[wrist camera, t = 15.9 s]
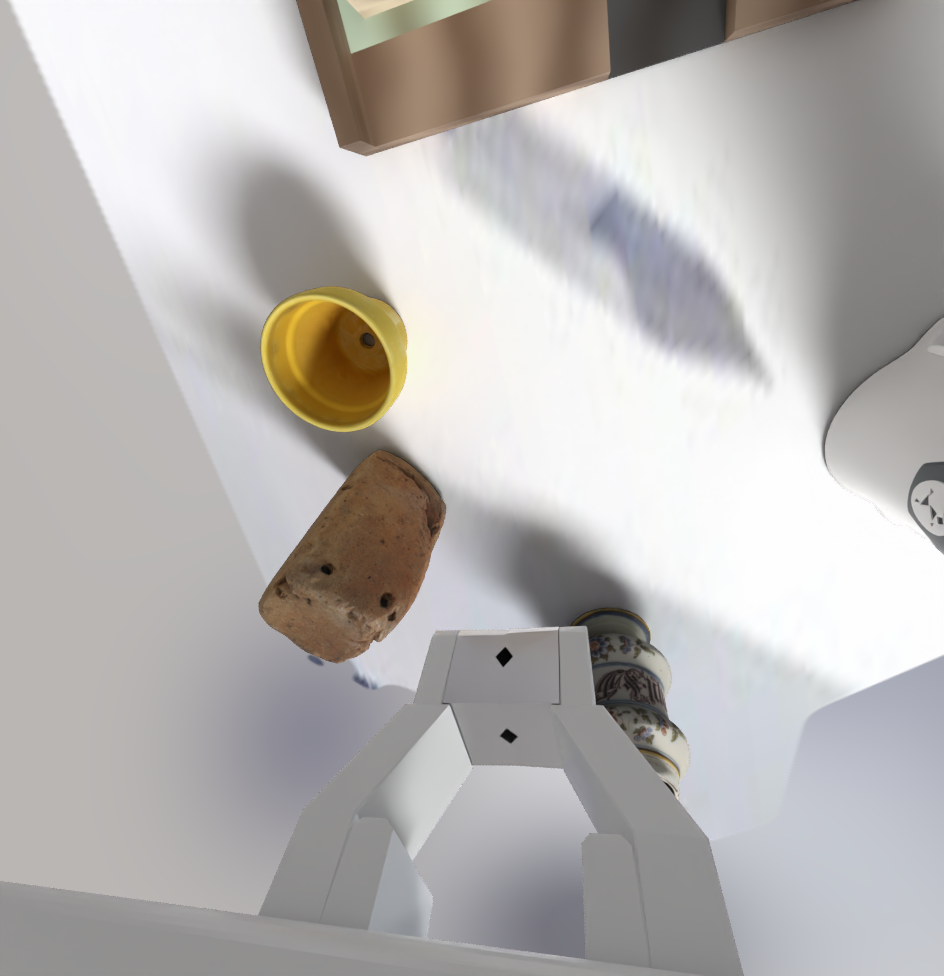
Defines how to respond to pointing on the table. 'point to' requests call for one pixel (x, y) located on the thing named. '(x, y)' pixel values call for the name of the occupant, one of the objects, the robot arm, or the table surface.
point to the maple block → (374, 6)
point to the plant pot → (335, 357)
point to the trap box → (501, 54)
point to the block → (357, 561)
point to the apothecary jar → (636, 689)
